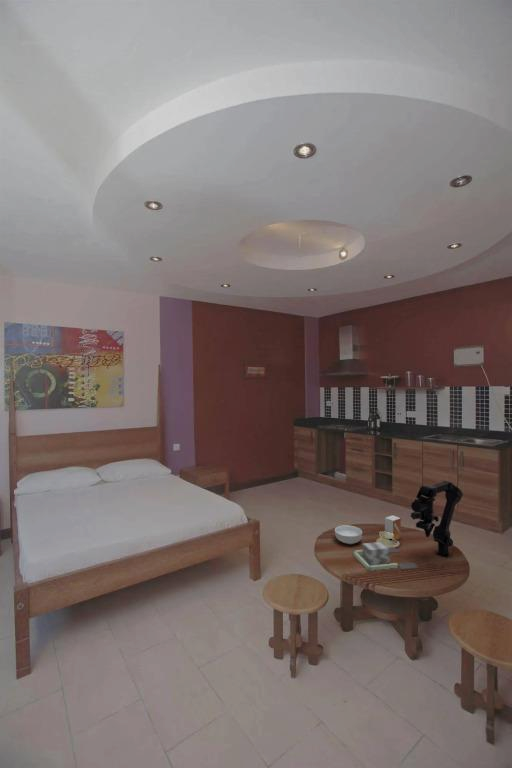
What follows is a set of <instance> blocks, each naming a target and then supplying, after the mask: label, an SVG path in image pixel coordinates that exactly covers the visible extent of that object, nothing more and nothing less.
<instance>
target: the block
mask: <svg viewBox="0 0 512 768" xmlns="http://www.w3.org/2000/svg"><path fill="white" fill-rule="evenodd" d="M390 548H391V547H389V546H387V545H386V544H385V543H384V542H383V541H380V542H379V541H378V542H377V541H375V542H367V543H366V542H365V543H362V550H363V555H362V558H363V559H364V560H365V561H366V562H367V563H368V564H369V565H370V566H373V565H378V564H379V565H382V564H387V563H389V564H391V563H390V561H391V560H390V557H391V555H390V554H391V553H390Z"/></svg>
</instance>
